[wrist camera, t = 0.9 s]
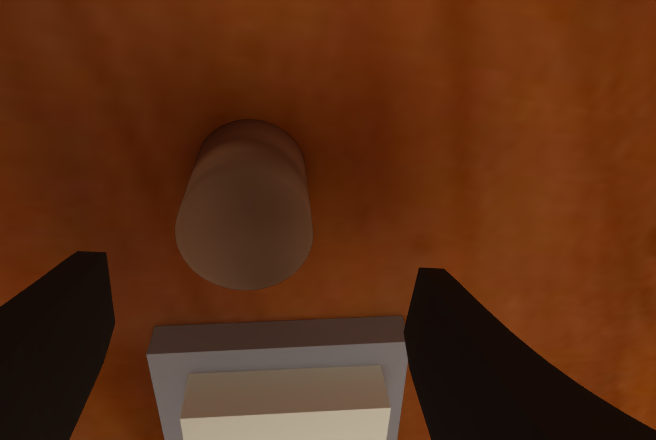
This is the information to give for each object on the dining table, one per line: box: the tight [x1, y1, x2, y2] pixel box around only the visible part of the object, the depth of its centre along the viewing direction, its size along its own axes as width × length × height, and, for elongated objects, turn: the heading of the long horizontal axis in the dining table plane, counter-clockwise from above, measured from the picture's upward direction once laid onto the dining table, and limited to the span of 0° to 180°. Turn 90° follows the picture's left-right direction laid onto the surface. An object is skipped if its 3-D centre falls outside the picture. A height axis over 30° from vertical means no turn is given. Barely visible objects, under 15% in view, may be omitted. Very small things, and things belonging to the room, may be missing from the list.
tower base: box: [146, 316, 408, 440], centre depth 27 cm, size 12×12×2 cm
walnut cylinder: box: [175, 119, 313, 290], centre depth 19 cm, size 4×4×5 cm
